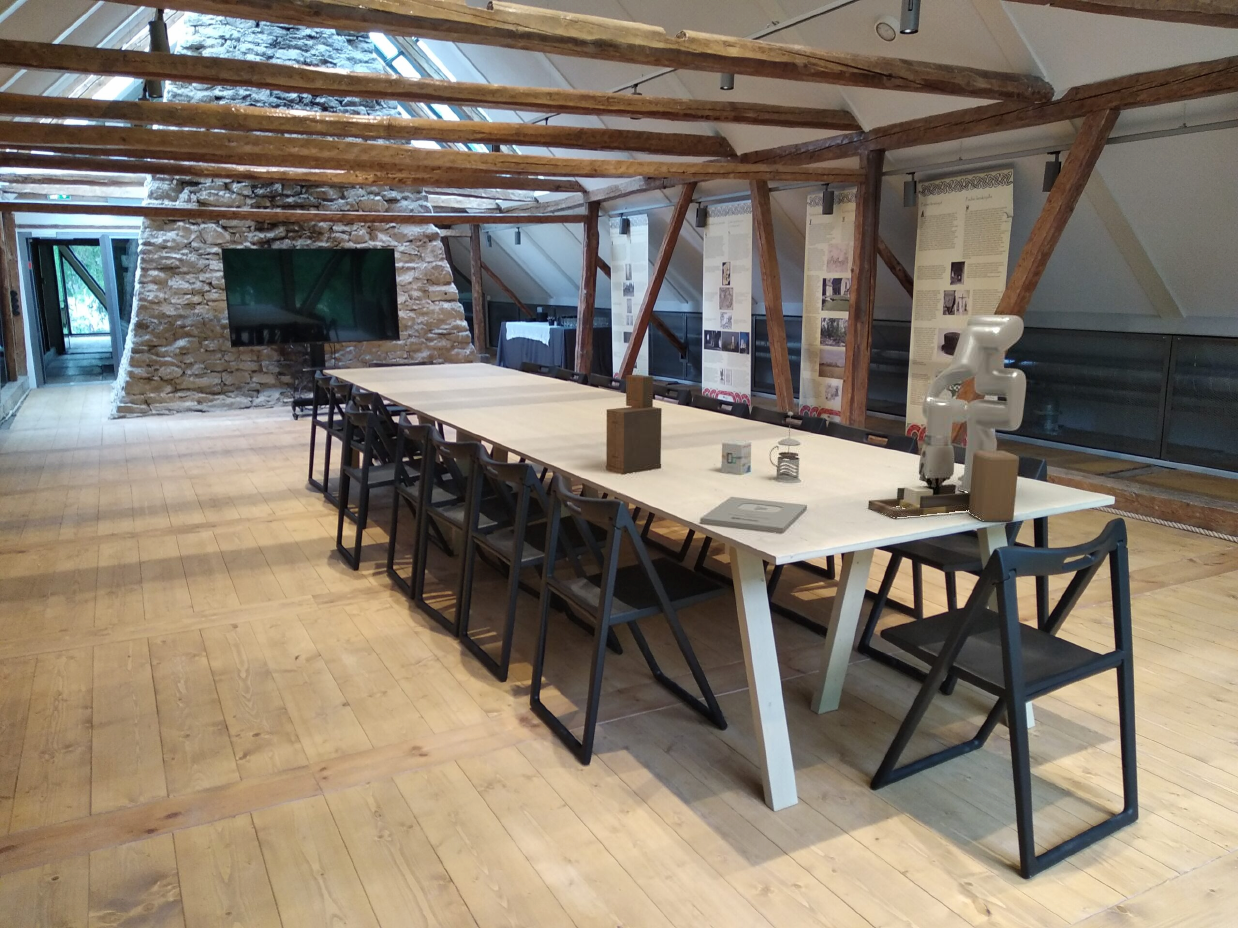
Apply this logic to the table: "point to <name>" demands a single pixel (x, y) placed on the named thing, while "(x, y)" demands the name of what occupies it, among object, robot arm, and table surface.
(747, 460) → the ink box
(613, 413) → the stacked wooden blocks
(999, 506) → the block
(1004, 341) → the robot arm
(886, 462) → the table surface
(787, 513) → the award plaque
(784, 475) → the french press
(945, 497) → the tunnel deck
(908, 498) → the cream block
